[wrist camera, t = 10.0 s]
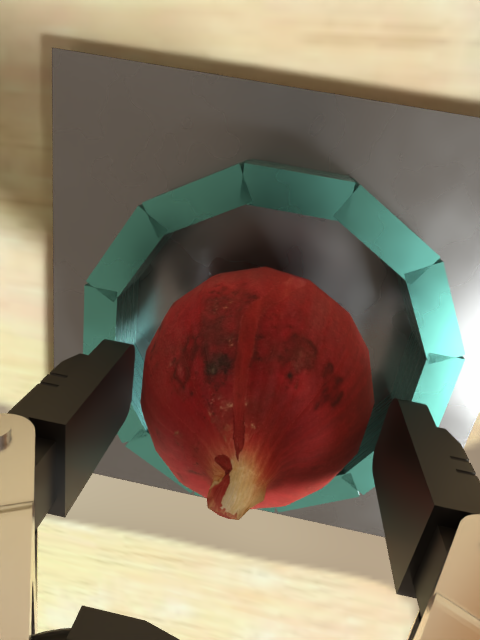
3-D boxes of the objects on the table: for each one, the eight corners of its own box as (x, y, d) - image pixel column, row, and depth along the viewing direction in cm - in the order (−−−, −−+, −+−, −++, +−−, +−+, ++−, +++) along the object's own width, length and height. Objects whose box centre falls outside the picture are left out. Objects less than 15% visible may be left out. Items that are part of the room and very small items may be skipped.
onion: (164, 264, 15) (26, 358, 7) (342, 231, 14) (392, 303, 6) (202, 420, 17) (122, 628, 9) (364, 401, 16) (426, 617, 8)
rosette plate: (69, 53, 14) (10, 33, 11) (577, 137, 13) (650, 138, 10) (65, 449, 20) (27, 500, 17) (415, 525, 19) (435, 592, 16)
